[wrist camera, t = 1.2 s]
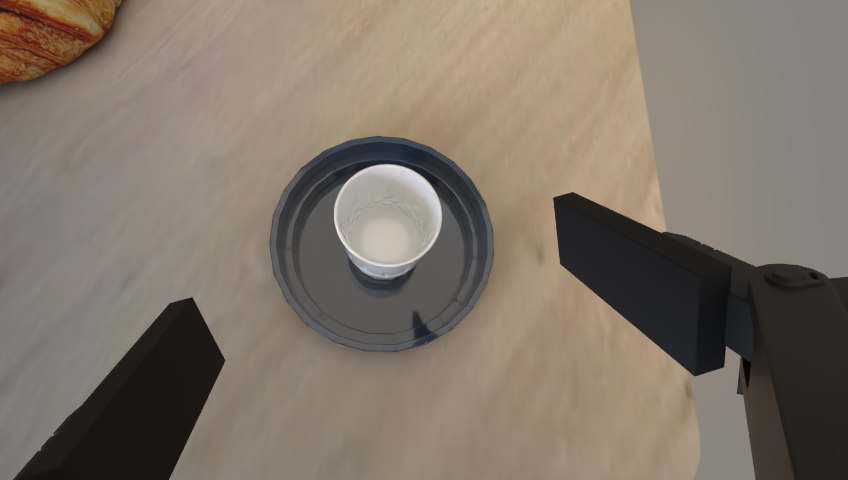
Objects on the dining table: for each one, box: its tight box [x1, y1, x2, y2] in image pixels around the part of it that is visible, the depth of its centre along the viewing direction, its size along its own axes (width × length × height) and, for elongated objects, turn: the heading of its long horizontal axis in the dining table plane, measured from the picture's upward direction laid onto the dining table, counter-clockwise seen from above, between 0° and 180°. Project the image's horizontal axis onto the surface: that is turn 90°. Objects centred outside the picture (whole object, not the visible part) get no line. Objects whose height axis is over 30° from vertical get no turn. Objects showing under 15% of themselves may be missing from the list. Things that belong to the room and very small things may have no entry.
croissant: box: [0, 0, 122, 84], centre depth 38 cm, size 21×10×8 cm, turn 151°
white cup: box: [334, 164, 442, 280], centre depth 34 cm, size 8×8×10 cm
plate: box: [270, 136, 494, 352], centre depth 37 cm, size 20×20×4 cm
